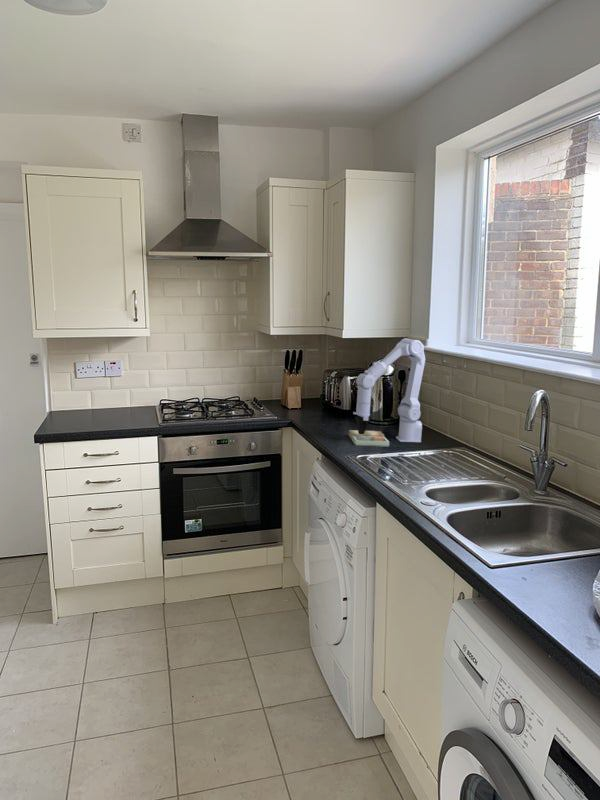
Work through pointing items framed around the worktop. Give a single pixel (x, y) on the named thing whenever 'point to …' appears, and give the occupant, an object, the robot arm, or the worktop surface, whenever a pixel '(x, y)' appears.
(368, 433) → the board
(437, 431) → the worktop surface
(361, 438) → the grey tile
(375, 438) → the terracotta tile
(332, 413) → the worktop surface
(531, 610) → the worktop surface
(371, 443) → the tray
